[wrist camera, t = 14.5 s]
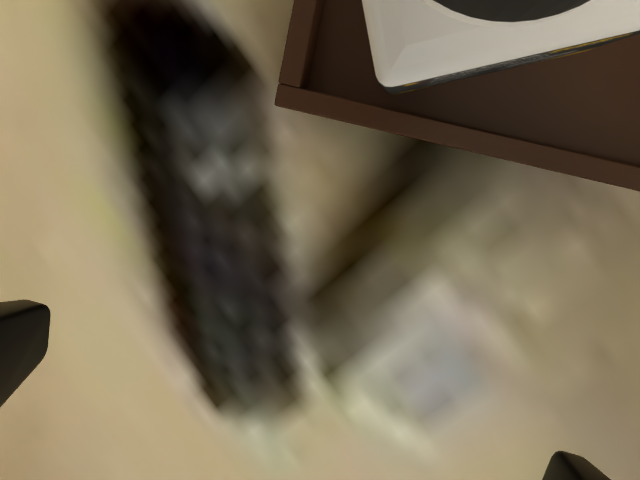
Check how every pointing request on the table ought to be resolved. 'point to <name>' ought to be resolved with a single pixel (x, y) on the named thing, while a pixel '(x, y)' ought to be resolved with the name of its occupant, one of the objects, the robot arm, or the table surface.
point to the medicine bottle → (485, 35)
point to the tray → (475, 98)
